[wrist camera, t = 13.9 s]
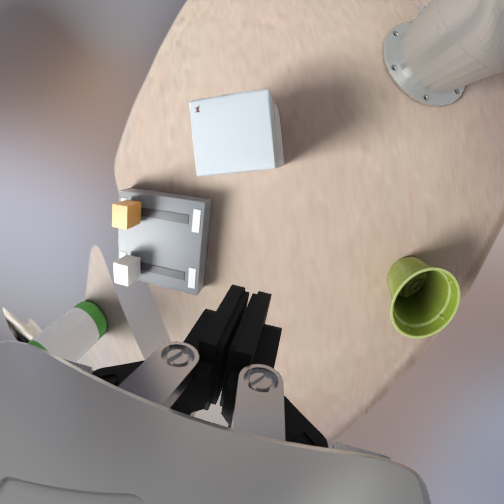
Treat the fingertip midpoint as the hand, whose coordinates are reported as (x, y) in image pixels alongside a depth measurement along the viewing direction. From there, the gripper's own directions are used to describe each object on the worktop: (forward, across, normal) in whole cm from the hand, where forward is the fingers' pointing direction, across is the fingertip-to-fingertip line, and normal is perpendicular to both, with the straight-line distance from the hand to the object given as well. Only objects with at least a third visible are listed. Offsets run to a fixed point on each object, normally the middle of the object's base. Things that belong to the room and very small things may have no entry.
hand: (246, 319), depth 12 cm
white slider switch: (+23, +20, +12) cm, 33 cm away
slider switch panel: (+26, +17, +8) cm, 32 cm away
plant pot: (+27, -18, +6) cm, 33 cm away
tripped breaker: (+23, +20, +4) cm, 31 cm away
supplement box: (+27, +6, -7) cm, 29 cm away
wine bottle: (+26, +32, +28) cm, 50 cm away
